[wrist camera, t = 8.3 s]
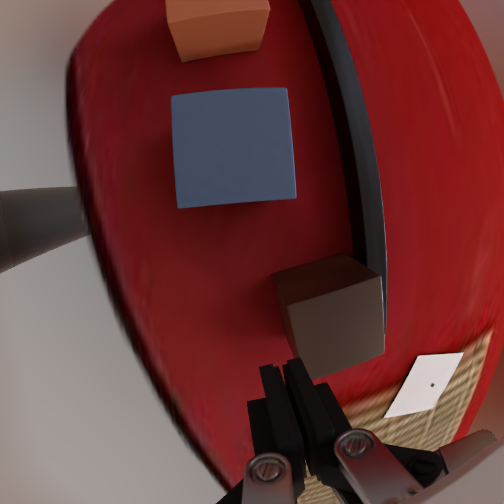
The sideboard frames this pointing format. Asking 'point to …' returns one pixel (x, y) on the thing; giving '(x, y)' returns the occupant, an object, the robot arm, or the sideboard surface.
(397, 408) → the coaster
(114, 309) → the sideboard surface
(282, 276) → the walnut block
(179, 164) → the slate blue block
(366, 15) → the sideboard surface
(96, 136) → the sideboard surface
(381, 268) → the rail
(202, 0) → the terracotta block
